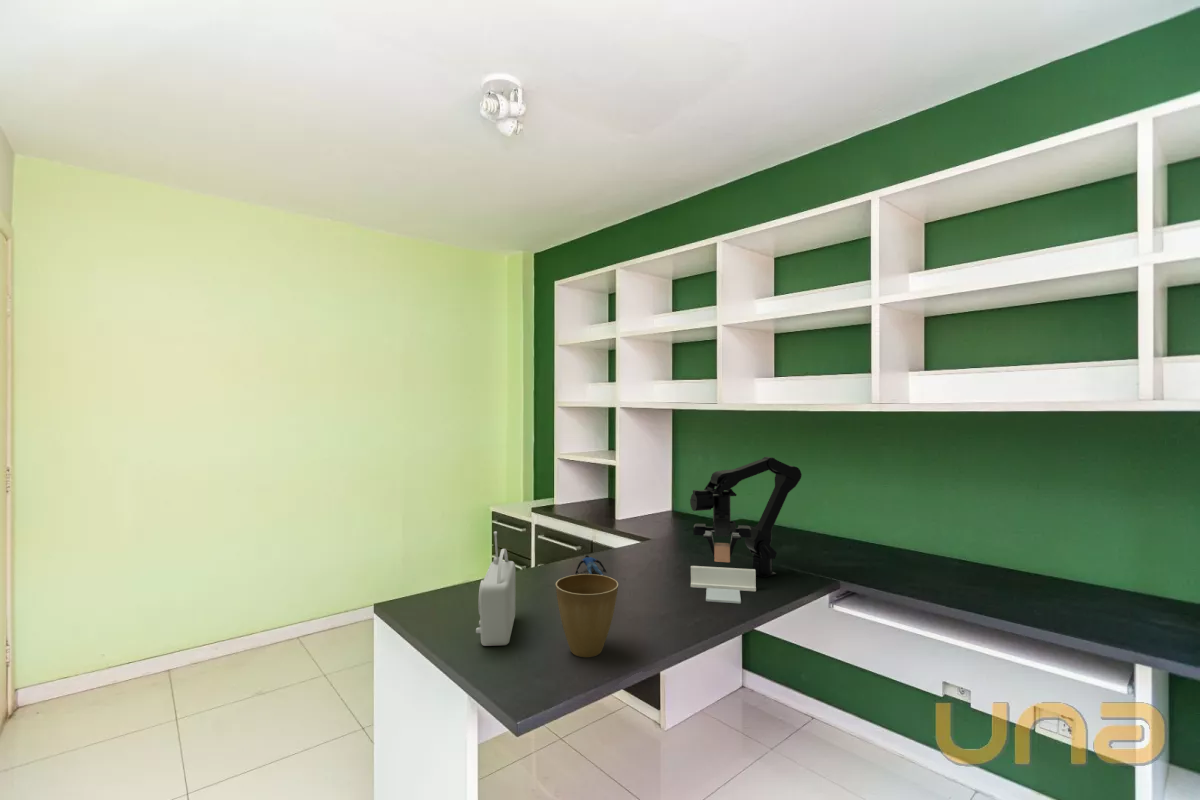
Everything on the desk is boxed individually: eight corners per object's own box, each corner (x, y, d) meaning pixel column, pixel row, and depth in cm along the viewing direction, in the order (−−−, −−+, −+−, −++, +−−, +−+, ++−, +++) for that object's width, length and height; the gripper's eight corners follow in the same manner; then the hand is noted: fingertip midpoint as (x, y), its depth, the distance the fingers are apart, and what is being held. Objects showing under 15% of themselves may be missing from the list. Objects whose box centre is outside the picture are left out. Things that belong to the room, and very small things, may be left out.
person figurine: (613, 587, 179) (601, 564, 196) (614, 574, 178) (601, 552, 195) (581, 590, 176) (571, 566, 193) (581, 576, 175) (571, 554, 193)
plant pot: (578, 672, 118) (578, 598, 119) (544, 647, 131) (544, 580, 131) (631, 653, 127) (631, 584, 127) (594, 632, 139) (594, 569, 139)
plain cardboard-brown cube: (714, 557, 186) (714, 542, 186) (729, 558, 184) (729, 543, 185) (714, 561, 180) (714, 546, 181) (729, 562, 179) (729, 547, 179)
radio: (486, 616, 150) (485, 525, 151) (516, 614, 151) (515, 524, 151) (473, 651, 129) (472, 546, 129) (508, 650, 129) (507, 545, 129)
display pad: (706, 589, 170) (706, 587, 170) (739, 591, 168) (739, 590, 168) (705, 601, 160) (705, 599, 160) (740, 603, 158) (740, 601, 158)
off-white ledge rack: (691, 583, 177) (691, 564, 177) (755, 587, 172) (754, 568, 172) (690, 587, 173) (690, 568, 173) (756, 591, 168) (755, 572, 169)
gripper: (692, 513, 177) (692, 561, 177) (752, 515, 173) (752, 564, 173) (694, 506, 188) (694, 552, 187) (750, 508, 184) (750, 555, 183)
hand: (722, 556), depth 182 cm, fingers closed on plain cardboard-brown cube, 5 cm apart
